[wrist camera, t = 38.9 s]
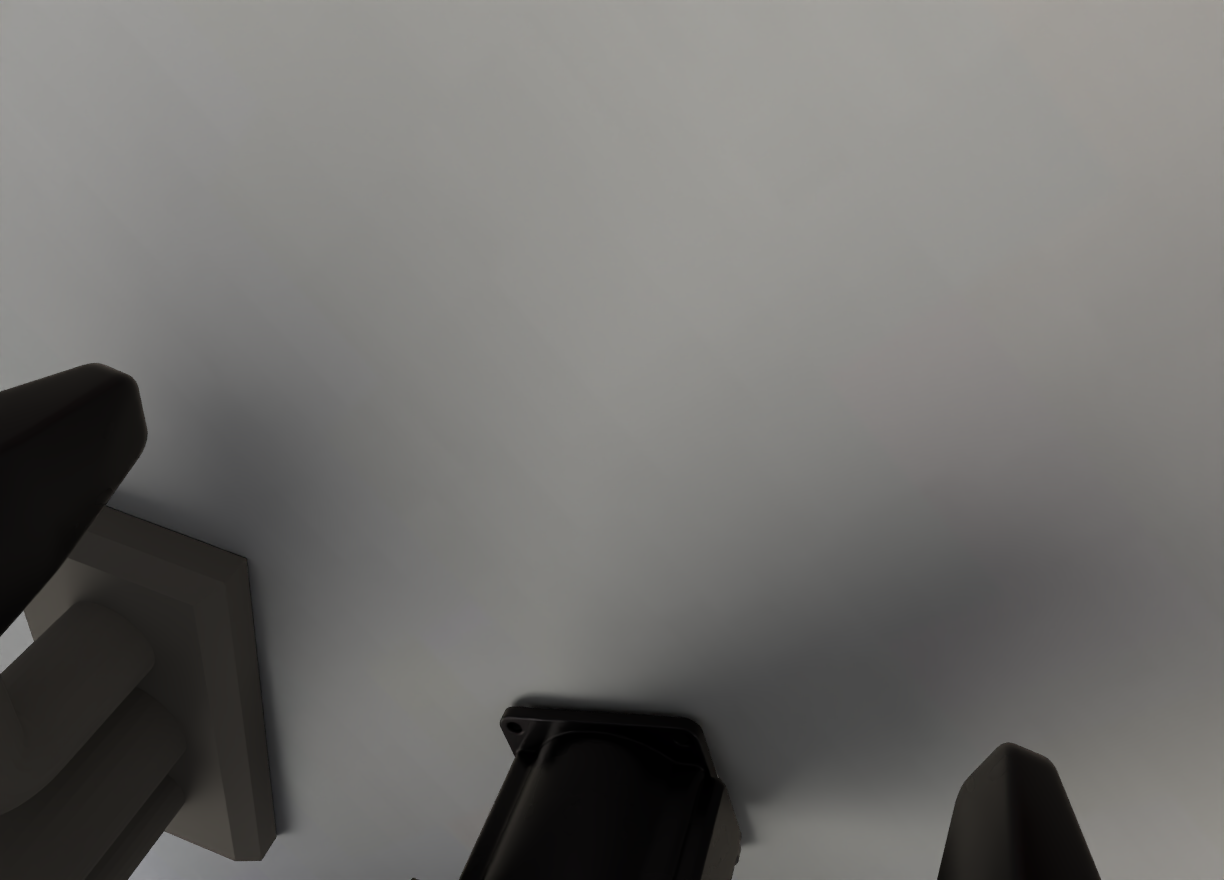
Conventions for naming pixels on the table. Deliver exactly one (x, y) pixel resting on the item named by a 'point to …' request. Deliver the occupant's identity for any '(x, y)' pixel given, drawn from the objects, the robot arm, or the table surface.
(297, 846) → the table surface
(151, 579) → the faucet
